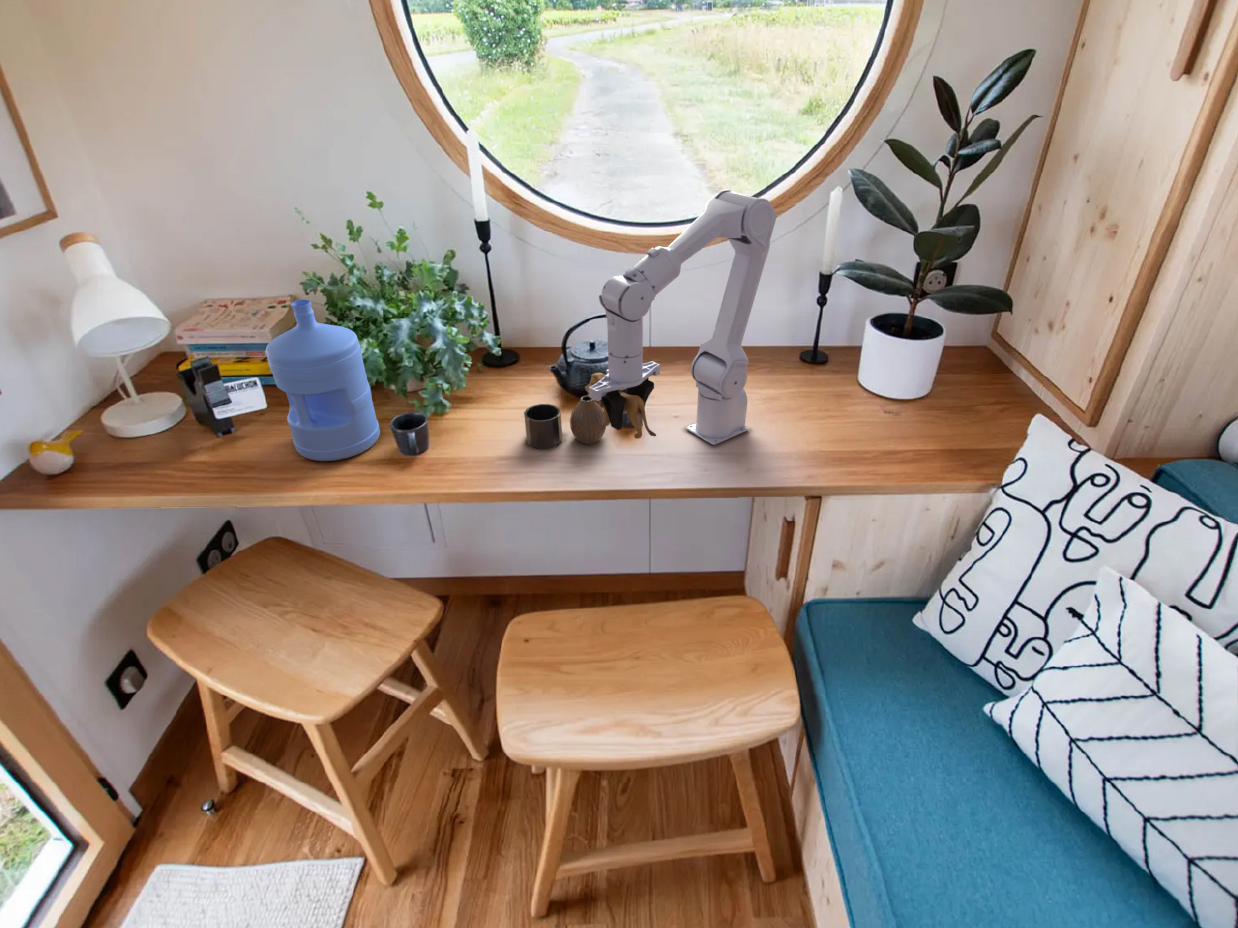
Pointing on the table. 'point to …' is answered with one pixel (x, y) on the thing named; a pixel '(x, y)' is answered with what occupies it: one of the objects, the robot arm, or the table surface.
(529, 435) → the tea cup
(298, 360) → the water jug
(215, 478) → the table surface
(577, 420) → the vase
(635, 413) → the lion figurine
